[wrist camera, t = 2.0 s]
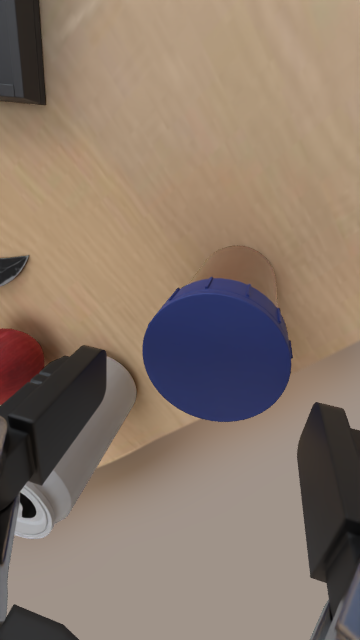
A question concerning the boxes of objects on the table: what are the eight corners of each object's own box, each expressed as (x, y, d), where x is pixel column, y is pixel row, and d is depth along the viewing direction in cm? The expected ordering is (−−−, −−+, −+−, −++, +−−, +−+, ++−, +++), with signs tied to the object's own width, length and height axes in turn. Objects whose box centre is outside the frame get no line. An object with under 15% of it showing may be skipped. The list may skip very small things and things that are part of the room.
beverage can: (150, 404, 27) (77, 547, 17) (92, 412, 30) (-4, 543, 19) (121, 342, 25) (17, 460, 15) (61, 356, 28) (-65, 467, 17)
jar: (285, 252, 19) (298, 312, 11) (265, 326, 22) (264, 421, 13) (203, 239, 20) (158, 284, 12) (193, 311, 23) (149, 391, 14)
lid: (305, 292, 12) (311, 311, 10) (269, 407, 15) (269, 437, 13) (162, 266, 13) (146, 279, 11) (152, 377, 16) (138, 402, 14)
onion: (-5, 320, 28) (-96, 369, 21) (44, 308, 26) (-39, 357, 19) (26, 374, 30) (-49, 435, 23) (73, 366, 28) (8, 431, 21)
